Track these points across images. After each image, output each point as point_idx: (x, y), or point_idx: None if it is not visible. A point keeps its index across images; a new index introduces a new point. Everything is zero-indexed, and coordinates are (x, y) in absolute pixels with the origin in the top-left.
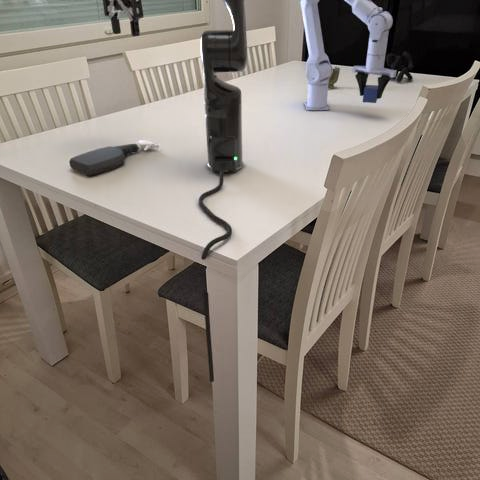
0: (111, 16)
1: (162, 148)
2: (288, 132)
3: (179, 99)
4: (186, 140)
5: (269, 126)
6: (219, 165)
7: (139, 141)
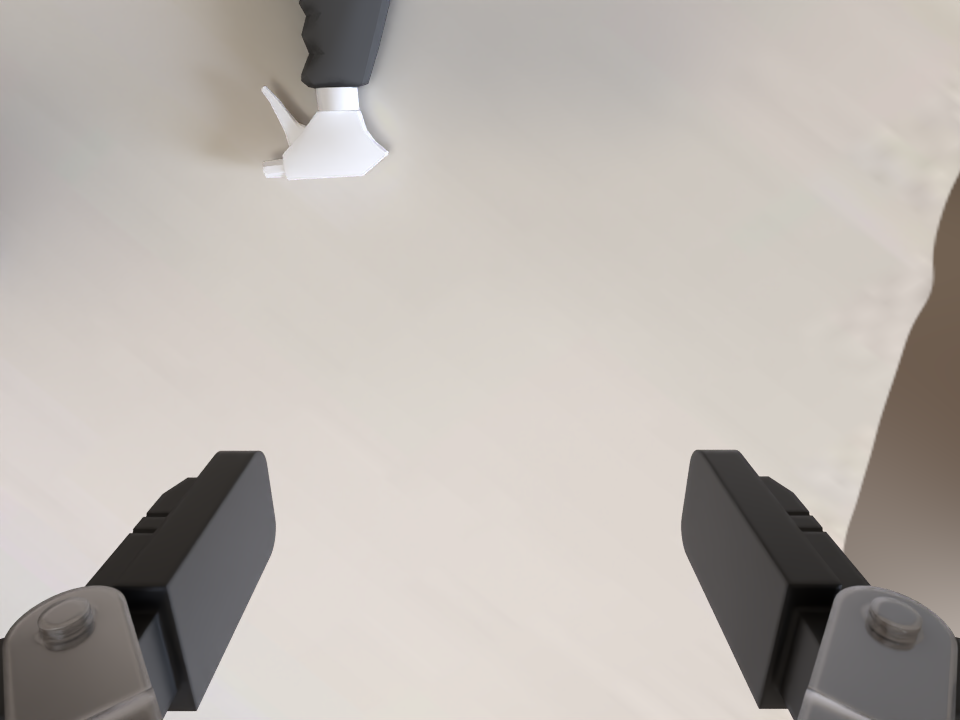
0: (830, 628)
1: (288, 202)
2: None
3: None
4: (297, 339)
5: None
6: None
7: (362, 137)
